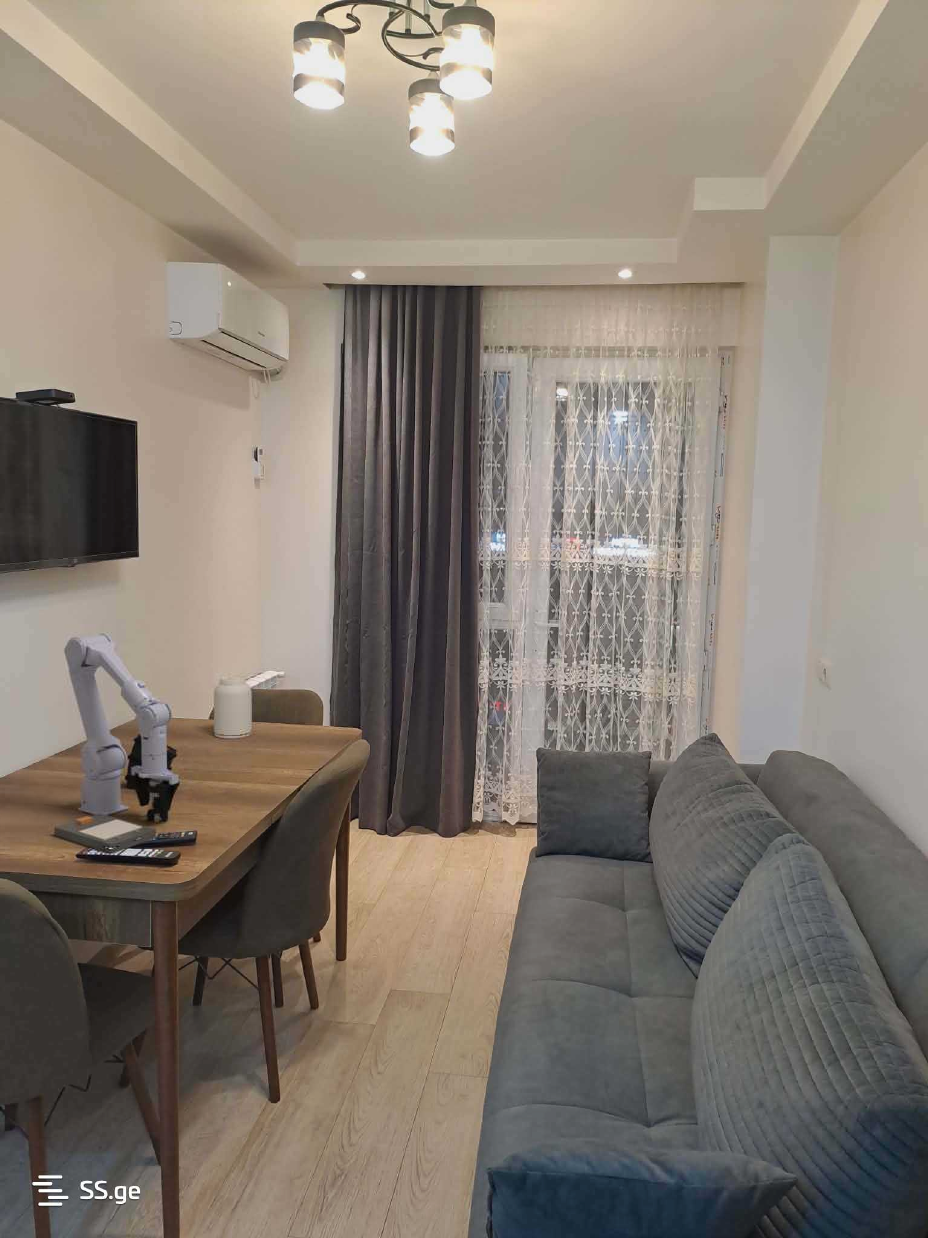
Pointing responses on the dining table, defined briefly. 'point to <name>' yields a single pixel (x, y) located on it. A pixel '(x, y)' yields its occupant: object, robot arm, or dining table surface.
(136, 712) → the robot arm
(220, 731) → the white jar
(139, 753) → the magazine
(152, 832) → the control panel
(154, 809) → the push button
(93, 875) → the dining table surface
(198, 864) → the dining table surface
